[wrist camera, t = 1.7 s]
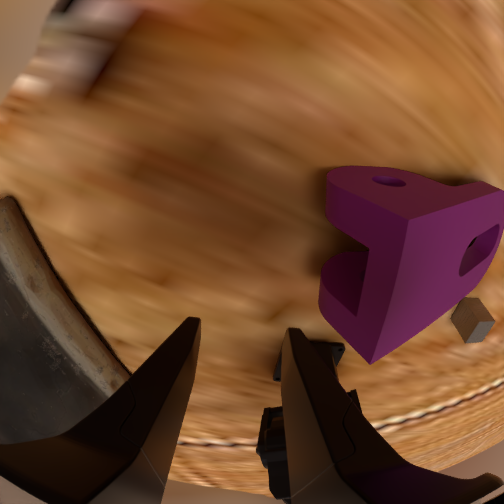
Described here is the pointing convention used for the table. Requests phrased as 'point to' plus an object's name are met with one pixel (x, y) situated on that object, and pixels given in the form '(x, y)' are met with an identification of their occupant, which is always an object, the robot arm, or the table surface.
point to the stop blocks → (472, 320)
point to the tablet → (44, 344)
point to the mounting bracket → (403, 252)
